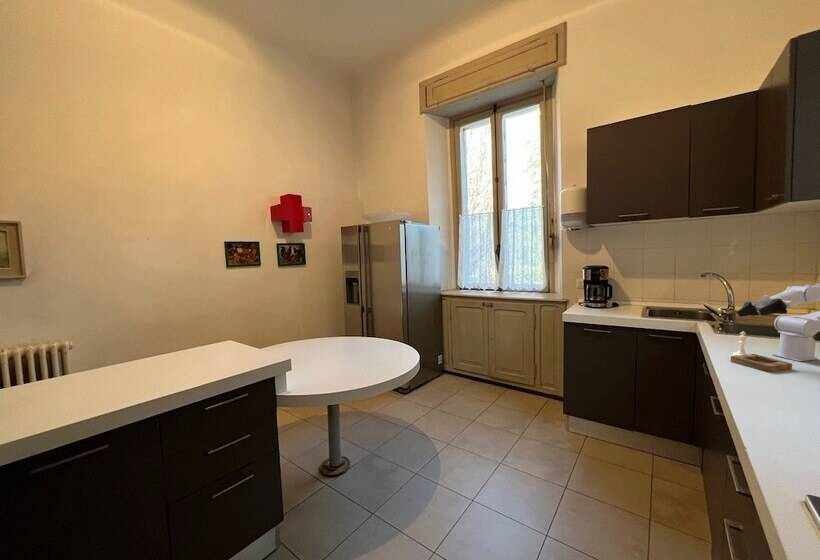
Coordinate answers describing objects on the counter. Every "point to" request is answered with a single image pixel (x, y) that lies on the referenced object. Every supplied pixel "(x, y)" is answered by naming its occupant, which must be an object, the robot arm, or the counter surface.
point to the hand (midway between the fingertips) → (749, 313)
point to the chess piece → (741, 345)
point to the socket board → (761, 362)
